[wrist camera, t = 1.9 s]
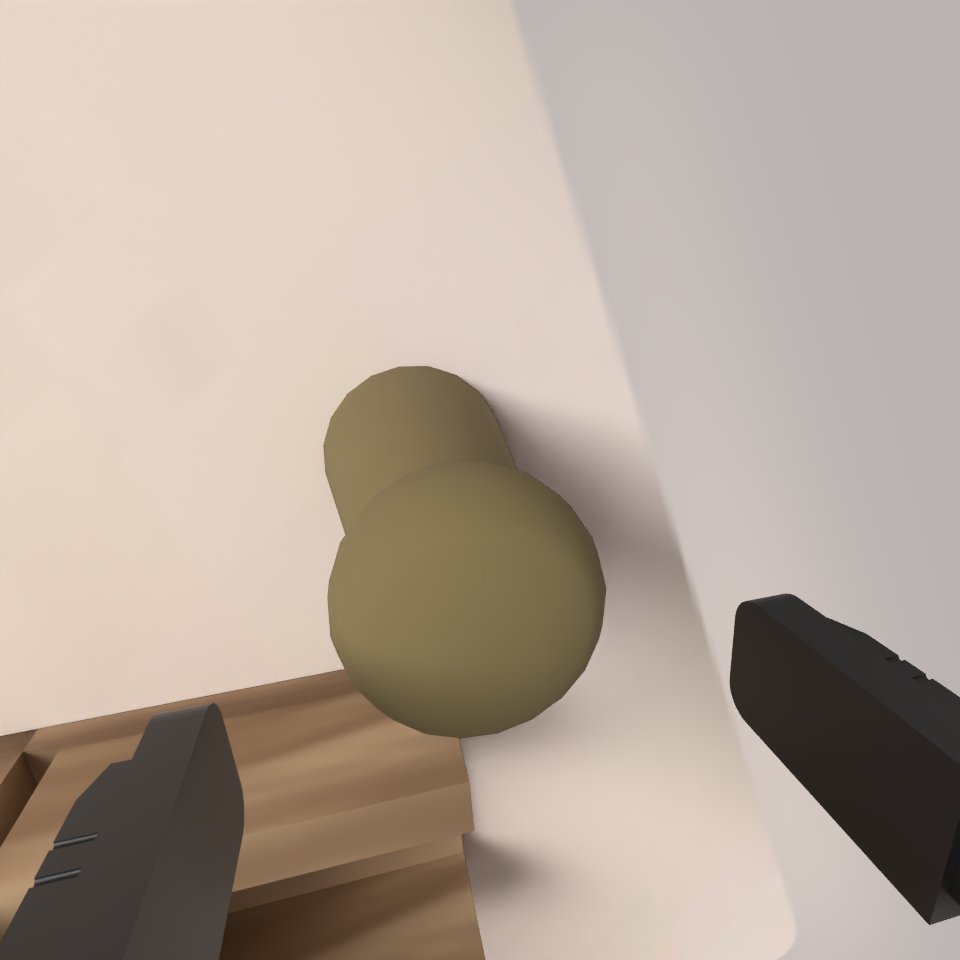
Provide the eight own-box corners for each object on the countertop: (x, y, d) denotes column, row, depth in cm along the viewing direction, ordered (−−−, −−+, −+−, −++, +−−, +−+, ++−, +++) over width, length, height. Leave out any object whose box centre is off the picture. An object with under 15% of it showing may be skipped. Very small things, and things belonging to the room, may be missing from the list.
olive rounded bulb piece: (315, 529, 20) (281, 802, 10) (332, 351, 18) (313, 456, 8) (485, 542, 21) (611, 788, 11) (517, 379, 19) (702, 496, 9)
